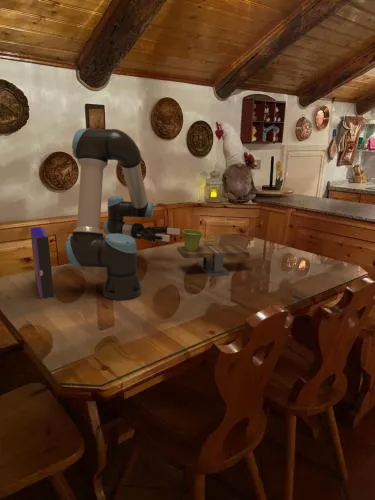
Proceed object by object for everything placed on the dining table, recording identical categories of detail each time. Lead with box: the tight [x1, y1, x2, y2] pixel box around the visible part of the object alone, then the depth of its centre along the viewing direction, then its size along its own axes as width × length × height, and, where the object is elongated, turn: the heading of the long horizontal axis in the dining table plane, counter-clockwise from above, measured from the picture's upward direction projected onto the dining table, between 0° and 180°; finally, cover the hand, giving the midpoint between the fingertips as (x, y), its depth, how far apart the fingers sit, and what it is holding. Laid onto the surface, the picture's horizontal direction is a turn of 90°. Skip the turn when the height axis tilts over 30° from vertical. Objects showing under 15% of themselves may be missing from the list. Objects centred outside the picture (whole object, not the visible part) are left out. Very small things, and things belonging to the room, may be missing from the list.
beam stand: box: [196, 244, 230, 278], centre depth 171 cm, size 18×10×10 cm, turn 17°
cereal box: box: [29, 226, 54, 300], centre depth 141 cm, size 17×5×24 cm, turn 27°
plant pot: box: [182, 229, 204, 251], centre depth 165 cm, size 9×9×9 cm
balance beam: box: [176, 244, 250, 259], centre depth 170 cm, size 32×12×2 cm, turn 107°
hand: (174, 235), depth 167 cm, fingers open, 13 cm apart
